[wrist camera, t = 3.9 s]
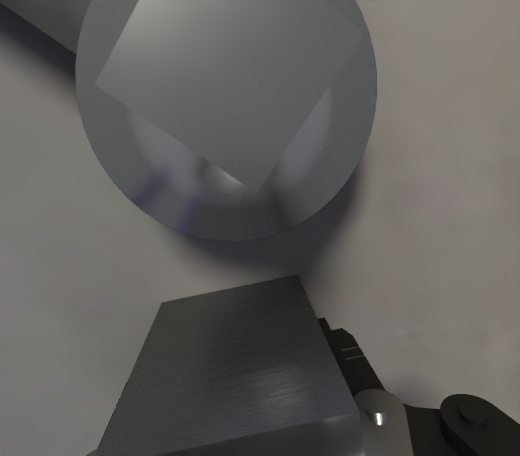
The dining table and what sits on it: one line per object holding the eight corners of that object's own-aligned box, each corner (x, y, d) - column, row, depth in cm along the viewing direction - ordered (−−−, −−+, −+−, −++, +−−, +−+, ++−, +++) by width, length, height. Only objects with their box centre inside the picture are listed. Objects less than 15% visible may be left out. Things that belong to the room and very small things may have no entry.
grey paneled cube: (296, 275, 12) (359, 411, 6) (314, 384, 13) (378, 581, 7) (162, 302, 11) (88, 470, 6) (194, 410, 13) (163, 630, 7)
